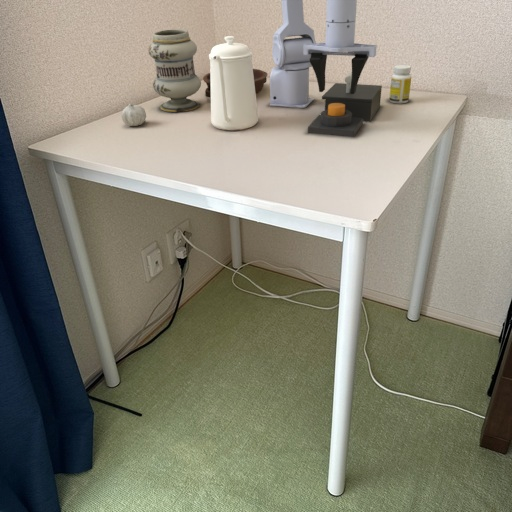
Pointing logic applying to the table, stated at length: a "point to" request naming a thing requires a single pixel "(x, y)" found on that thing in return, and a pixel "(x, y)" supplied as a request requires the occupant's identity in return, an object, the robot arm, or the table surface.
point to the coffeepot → (232, 86)
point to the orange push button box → (335, 124)
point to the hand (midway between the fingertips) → (337, 91)
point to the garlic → (133, 115)
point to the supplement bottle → (400, 84)
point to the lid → (343, 94)
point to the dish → (258, 81)
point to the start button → (336, 109)
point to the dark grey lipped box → (360, 107)
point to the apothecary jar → (175, 69)
